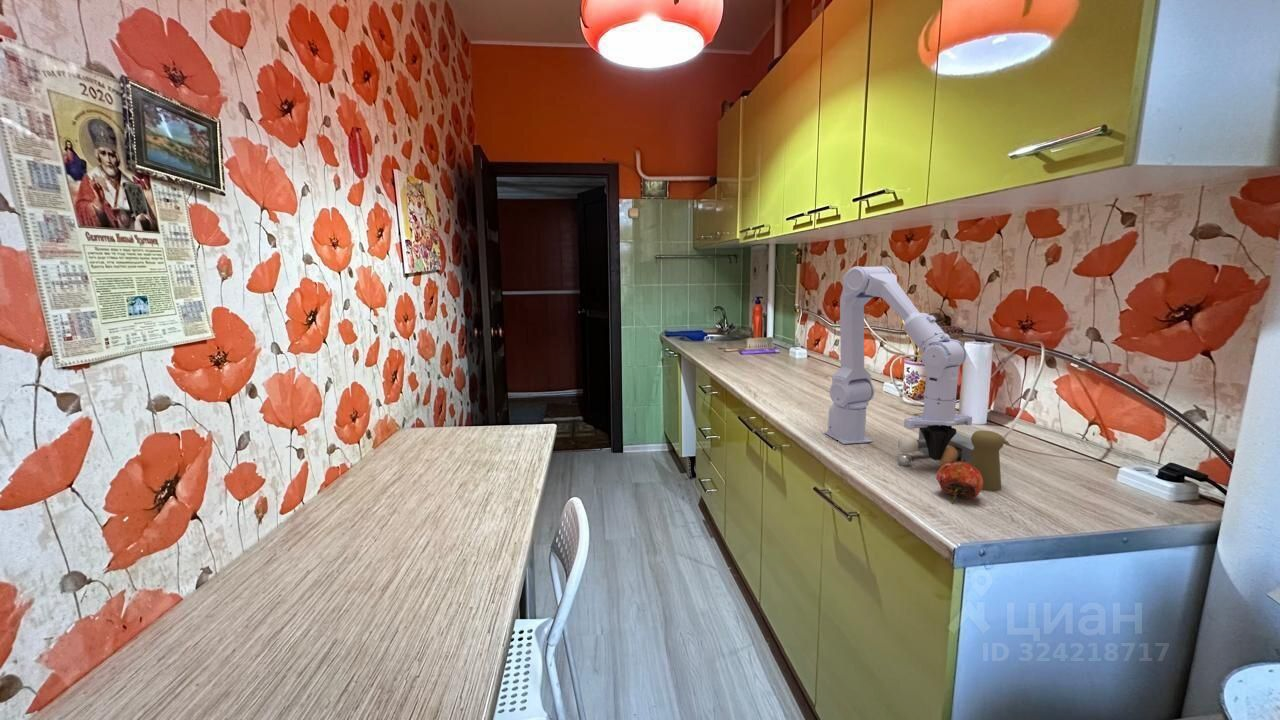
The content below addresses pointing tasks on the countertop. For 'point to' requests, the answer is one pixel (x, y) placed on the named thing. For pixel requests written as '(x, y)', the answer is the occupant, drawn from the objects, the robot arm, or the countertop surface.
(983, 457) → the cork
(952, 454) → the orange knob
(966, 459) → the mount
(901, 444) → the cream knob
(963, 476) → the pomegranate
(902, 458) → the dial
